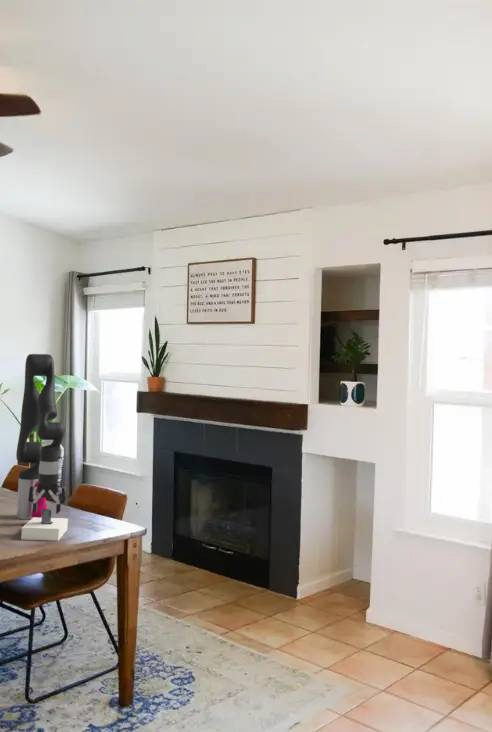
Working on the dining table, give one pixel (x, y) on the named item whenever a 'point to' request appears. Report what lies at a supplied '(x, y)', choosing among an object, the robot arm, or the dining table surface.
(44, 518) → the peg
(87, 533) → the dining table surface
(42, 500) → the pepper mill
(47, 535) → the hole block
